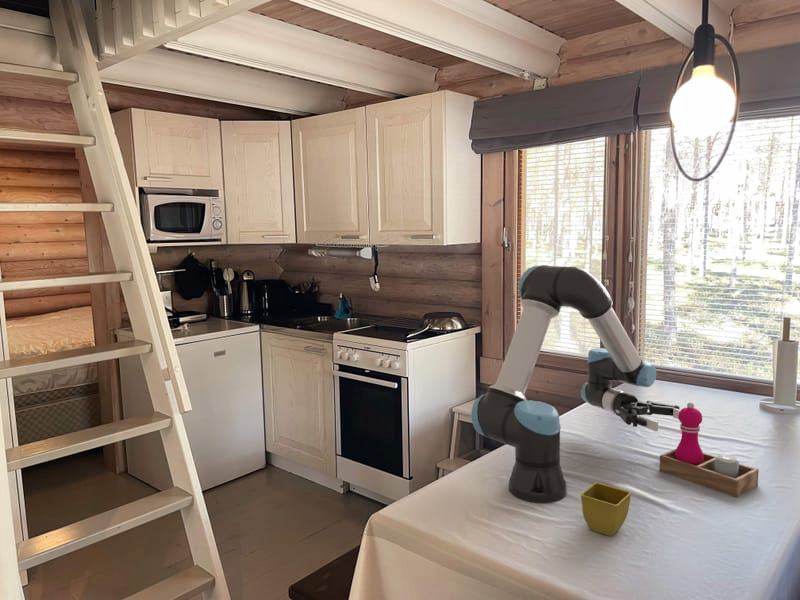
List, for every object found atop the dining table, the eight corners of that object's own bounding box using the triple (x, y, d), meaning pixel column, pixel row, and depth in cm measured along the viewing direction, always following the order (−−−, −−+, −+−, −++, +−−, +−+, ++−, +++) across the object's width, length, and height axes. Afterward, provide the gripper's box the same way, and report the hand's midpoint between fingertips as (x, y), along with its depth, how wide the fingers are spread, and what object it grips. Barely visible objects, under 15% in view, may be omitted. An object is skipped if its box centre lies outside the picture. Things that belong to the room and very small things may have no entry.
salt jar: (731, 490, 154) (732, 463, 154) (709, 483, 159) (710, 457, 158) (742, 484, 158) (743, 458, 157) (720, 477, 162) (721, 452, 161)
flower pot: (631, 528, 139) (632, 491, 138) (616, 543, 133) (617, 505, 132) (595, 516, 145) (595, 481, 144) (579, 531, 139) (579, 494, 138)
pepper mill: (697, 466, 170) (699, 398, 167) (707, 477, 163) (709, 406, 160) (670, 466, 171) (672, 398, 168) (680, 477, 163) (681, 406, 161)
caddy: (736, 501, 151) (737, 480, 150) (659, 473, 168) (659, 455, 168) (757, 489, 157) (758, 469, 156) (681, 464, 174) (681, 446, 174)
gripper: (650, 408, 195) (706, 428, 175) (589, 420, 185) (641, 442, 166) (650, 386, 194) (706, 403, 174) (589, 397, 184) (641, 416, 165)
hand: (675, 422), depth 170 cm, fingers open, 13 cm apart
